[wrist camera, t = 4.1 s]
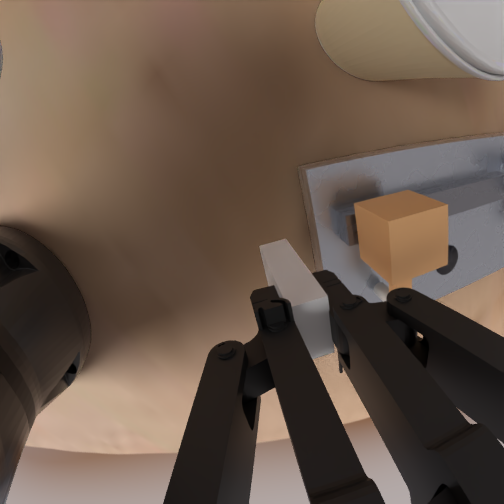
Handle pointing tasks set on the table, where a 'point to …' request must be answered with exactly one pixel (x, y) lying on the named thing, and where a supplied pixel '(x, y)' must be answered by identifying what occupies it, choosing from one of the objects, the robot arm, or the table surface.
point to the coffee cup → (414, 38)
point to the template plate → (395, 179)
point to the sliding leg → (402, 237)
